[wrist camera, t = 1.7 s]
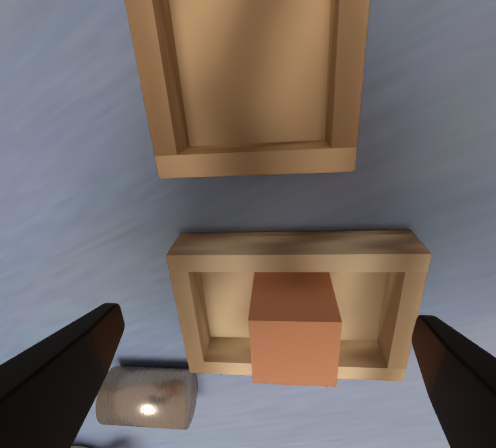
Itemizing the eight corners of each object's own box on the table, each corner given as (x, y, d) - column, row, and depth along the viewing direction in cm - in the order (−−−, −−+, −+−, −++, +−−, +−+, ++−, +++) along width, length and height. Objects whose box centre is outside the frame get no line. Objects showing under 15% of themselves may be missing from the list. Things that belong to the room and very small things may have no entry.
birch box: (410, 229, 19) (431, 253, 17) (389, 346, 23) (403, 381, 21) (180, 233, 21) (165, 255, 18) (199, 341, 25) (189, 372, 22)
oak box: (359, -70, 13) (379, -108, 11) (343, 158, 18) (354, 171, 15) (142, -43, 15) (110, -72, 12) (176, 164, 19) (159, 178, 16)
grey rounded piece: (186, 367, 24) (177, 432, 22) (199, 370, 28) (193, 426, 26) (105, 364, 25) (89, 427, 23) (128, 367, 29) (117, 421, 27)
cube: (328, 269, 20) (342, 322, 16) (325, 325, 22) (336, 386, 18) (254, 269, 21) (248, 320, 16) (258, 324, 23) (253, 383, 18)
